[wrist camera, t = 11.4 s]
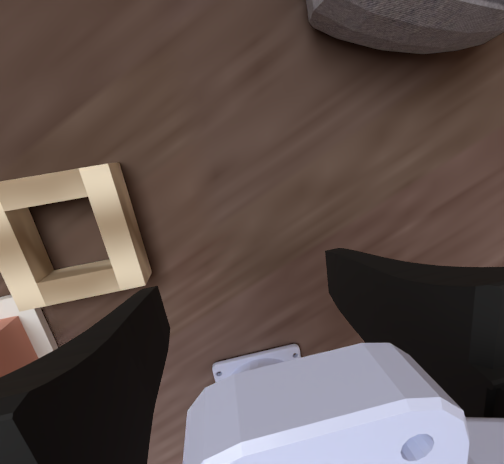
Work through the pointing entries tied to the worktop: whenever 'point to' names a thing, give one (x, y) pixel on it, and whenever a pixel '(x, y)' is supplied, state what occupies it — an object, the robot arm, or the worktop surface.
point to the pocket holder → (34, 253)
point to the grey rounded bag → (409, 23)
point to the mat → (30, 325)
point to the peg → (14, 346)
